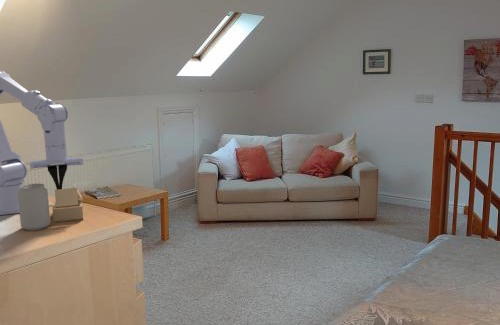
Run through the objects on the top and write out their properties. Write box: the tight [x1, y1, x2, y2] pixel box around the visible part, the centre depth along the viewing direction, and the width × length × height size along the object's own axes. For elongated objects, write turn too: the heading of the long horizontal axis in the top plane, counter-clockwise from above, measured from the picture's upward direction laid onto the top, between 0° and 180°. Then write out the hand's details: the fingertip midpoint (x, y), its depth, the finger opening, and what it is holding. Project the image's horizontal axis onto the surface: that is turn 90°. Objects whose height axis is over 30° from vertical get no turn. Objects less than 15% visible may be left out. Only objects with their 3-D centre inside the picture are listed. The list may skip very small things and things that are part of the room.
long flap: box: [54, 187, 79, 207], centre depth 137 cm, size 5×6×1 cm
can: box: [18, 183, 51, 232], centre depth 131 cm, size 8×8×12 cm
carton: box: [48, 198, 84, 224], centre depth 143 cm, size 15×12×4 cm
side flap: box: [72, 182, 83, 201], centre depth 143 cm, size 5×5×1 cm
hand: (59, 190), depth 141 cm, fingers closed
